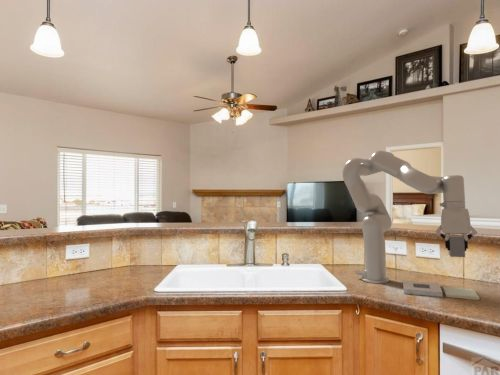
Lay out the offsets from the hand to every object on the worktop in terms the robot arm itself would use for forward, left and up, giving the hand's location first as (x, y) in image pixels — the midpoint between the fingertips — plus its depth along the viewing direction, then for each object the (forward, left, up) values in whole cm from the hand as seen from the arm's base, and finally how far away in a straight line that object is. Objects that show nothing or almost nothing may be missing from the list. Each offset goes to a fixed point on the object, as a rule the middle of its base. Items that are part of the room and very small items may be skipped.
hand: (456, 249), depth 137 cm
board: (+1, 0, -18) cm, 18 cm away
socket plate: (-13, 0, -18) cm, 22 cm away
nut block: (0, 0, -2) cm, 2 cm away
